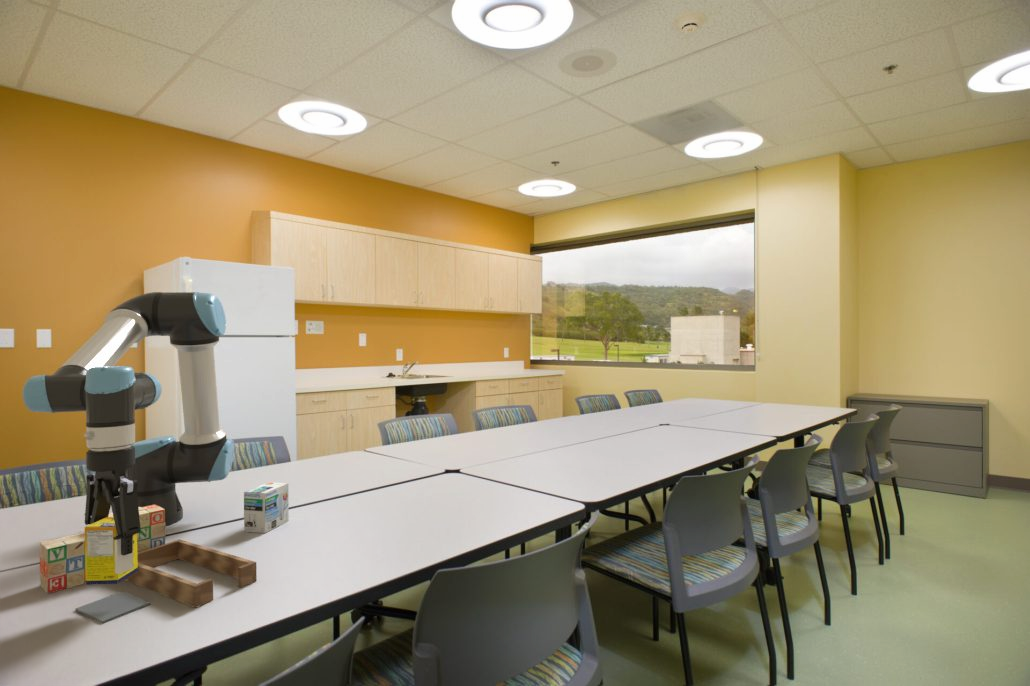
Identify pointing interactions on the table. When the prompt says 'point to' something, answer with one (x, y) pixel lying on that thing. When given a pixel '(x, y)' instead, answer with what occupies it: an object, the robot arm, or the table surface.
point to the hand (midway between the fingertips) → (112, 566)
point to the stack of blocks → (67, 554)
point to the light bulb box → (266, 507)
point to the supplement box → (104, 553)
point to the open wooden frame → (193, 554)
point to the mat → (112, 607)
